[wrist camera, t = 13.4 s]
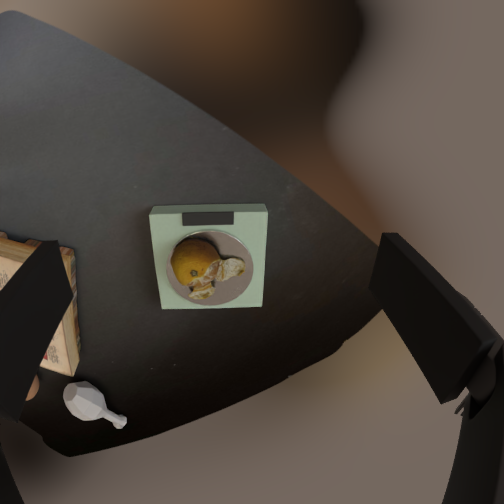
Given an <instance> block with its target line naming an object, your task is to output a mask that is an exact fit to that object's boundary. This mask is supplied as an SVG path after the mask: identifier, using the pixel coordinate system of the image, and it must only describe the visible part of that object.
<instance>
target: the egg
mask: <svg viewBox="0 0 504 504" xmlns="http://www.w3.org/2000/svg"><path fill="white" fill-rule="evenodd" d="M38 389H39V379H38V376H37V374H36V376H35V378H34V381H33V383H32V385H31V388H30V390H29V393H28V396H27V398H26V400H30V399H31V398H33V397H34V396H35V395H36V393H37V391H38Z"/></svg>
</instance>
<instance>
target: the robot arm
mask: <svg viewBox="0 0 504 504" xmlns="http://www.w3.org/2000/svg"><path fill="white" fill-rule="evenodd" d="M369 290H370V291H371V293H372V294H373V295H374V297H375V298H376V300H377V301H378V303H379V304H380V306H381V307H382V309H383V310H384V312H385V313H386V315H387V316H388V318H389V319H390V321H391V323H392V324H393V326H394V327H395V329H396V330H397V332H398V333H399V335H400V337H401V338H402V340H403V341H404V343H405V344H406V346H407V347H408V349H409V351H410V352H411V354H412V356H413V357H414V359H415V361H416V362H417V364H418V366H419V367H420V369H421V371H422V372H423V374H424V376H425V377H426V379H427V381H428V382H429V384H430V386H431V388H432V389H433V391H434V393H435V395H436V396H437V398H438V400H439V402H440V404H443V403H446V402H449V401H451V400H454V399H456V398H457V397H458V396H459V395H460V393H461V392H462V391H463V390H464V388H465V387H467V389H468V390H469V393H468V395H467V396H466V397H465V399H464V400H463V401H462V402H461V404H460V405H459V406H458V407H457V409H456V411H455V414H457V413H458V412H459V411H460V410H461V409H462V408H463V407H464V411H463V412H462V414H461V416H463V418H462V425H461V430H460V436H459V441H458V446H457V450H456V455H455V459H454V463H453V467H452V471H451V475H450V478H449V482H448V486H447V489H446V492H445V495H444V499H443V502H442V504H504V340H503V339H502V338H501V336H500V335H499V334H498V333H497V332H496V331H495V329H494V328H493V327H492V326H491V324H490V323H489V322H488V321H487V320H486V319H485V318H484V316H483V315H481V313H480V312H479V311H478V310H477V309H476V308H474V305H473V304H472V303H471V302H470V301H469V300H468V299H467V298H466V297H465V296H463V295H462V294H461V293H459V292H458V291H456V290H455V289H454V288H453V287H452V286H451V285H450V284H449V283H448V282H447V281H446V280H445V279H444V278H443V277H442V276H441V274H440V273H439V272H437V270H436V269H435V268H434V267H433V266H431V264H430V263H428V262H427V260H425V259H424V258H423V257H422V256H421V255H420V254H419V253H418V252H417V251H416V250H415V249H414V248H413V247H412V246H411V245H410V244H409V243H407V242H406V240H404V239H403V238H402V237H401V236H400V235H399V234H398V233H382V236H381V241H380V245H379V249H378V253H377V257H376V261H375V265H374V269H373V273H372V277H371V280H370V284H369ZM73 298H74V295H73V292H72V289H71V286H70V283H69V279H68V276H67V273H66V269H65V266H64V262H63V259H62V255H61V251H60V248H59V244H58V240H55V241H43V242H42V243H41V244H40V245H39V246H38V247H37V248H36V249H35V250H34V252H33V253H32V254H31V255H30V256H29V257H28V258H27V259H26V261H25V262H24V263H23V264H22V265H21V266H20V268H19V269H18V270H17V271H16V272H15V274H14V275H13V276H12V277H11V278H10V280H9V281H8V282H7V283H6V285H5V286H4V287H3V288H2V290H1V291H0V417H1V418H4V419H7V420H10V421H13V422H16V423H18V420H19V417H20V414H21V411H22V409H23V406H24V403H25V401H26V398H27V396H28V393H29V390H30V388H31V385H32V383H33V381H34V378H35V376H36V373H37V371H38V369H39V367H40V364H41V362H42V360H43V358H44V355H45V353H46V351H47V349H48V347H49V345H50V343H51V340H52V338H53V336H54V334H55V332H56V330H57V328H58V326H59V324H60V322H61V320H62V318H63V316H64V314H65V313H66V311H67V309H68V307H69V305H70V303H71V301H72V300H73ZM0 504H24V502H23V500H22V497H21V495H20V494H19V491H18V489H17V486H16V484H15V481H14V479H13V477H12V474H11V472H10V469H9V466H8V464H7V461H6V458H5V455H4V452H3V449H2V447H1V443H0Z"/></svg>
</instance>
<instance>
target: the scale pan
mask: <svg viewBox="0 0 504 504" xmlns="http://www.w3.org/2000/svg"><path fill="white" fill-rule="evenodd" d="M187 239H201V240H203V241H206V242H208V243H209V244H210V245H212V246H214V248H215V249H216V251H217V253H218V254H219V257H220V260H227V259H230V258H237V259H240V260H242V261H243V262H244V263H245V272H244V273H242V275H241V276H232V277H230V278H229V279H228V280H224V281H217V279H216V278H214V279H213V280H212V281H211V286H212V287H213V288H216V289H215V291H214V294H213V295H212V296H209V297H208V298H206V299H193V298H190V297H189V296H188V294H190V293H191V292H193V288H194V287H193V286H189V287H187V286H184V285H182V284H181V283H179V281H178V280H177V278H176V276H175V274H174V272H173V269H172V266H171V264H170V259H171V256H172V254H173V252H174V251H175V248H176V247H178V246H179V245H180V244H181V243H182V242H183V241H185V240H187ZM253 270H254V267H253V260H252V256H251V254H250V252H249V250H248V248H247V247H246V245H245V244H244V243H243V242H242V241H241V240H240V239H238V238H237V237H236V236H234V235H232V234H230V233H228V232H225V231H222V230H216V229H202V230H197V231H194V232H191V233H189V234H187V235H185V236H184V237H182V238H181V239H179V240H178V241H177V242H176V243H175V245H174V246H173V247H172V249H171V250H170V253H169V255H168V259H167V263H166V272H167V277H168V280H169V282H170V284H171V286H172V287H173V289H174V290H175V291H176V292H177V293H178V294H179V295H180V296H182V297H183V298H185V299H186V300H188V301H190V302H193V303H196V304H200V305H208V306H213V305H220V304H224V303H227V302H230V301H232V300H234V299H236V298H237V297H238V296H240V295H241V294H242V293H243V292H244V291H245V290H246V289H247V287H248V286H249V284H250V282H251V280H252V276H253Z"/></svg>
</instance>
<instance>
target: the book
mask: <svg viewBox="0 0 504 504" xmlns="http://www.w3.org/2000/svg"><path fill="white" fill-rule="evenodd" d="M41 243H42V242H41V241H37V240H31V239H29V240H27V241H26V242H25V243H19V242H16V241H12V240H8V238H7V235H6V233H4V232H1V231H0V291H1V290H2V288H3V287H4V286H5V285H6V283H7V282H8V281H9V280H10V278H11V277H12V276H13V275H14V274H15V272H16V271H17V270H18V269H19V268H20V266H21V265H22V264H23V263H24V262H25V261H26V259H27V258H28V257H29V256H30V255H31V254H32V253H33V252H34V250H35V249H36V248H37V247H38V246H39V245H40V244H41ZM59 248H60V251H61V255H62V259H63V262H64V266H65V269H66V273H67V276H68V279H69V283H70V286H71V289H72V292H73V295H74V298H73V300H72V301H71V303H70V305H69V307H68V309H67V311H66V313H65V314H64V316H63V318H62V320H61V322H60V324H59V326H58V328H57V330H56V332H55V334H54V336H53V338H52V340H51V343H50V345H49V347H48V349H47V351H46V353H45V355H44V358H43V360H42V362H41V364H40V366H41V367H44V368H47V369H50V370H53V371H56V372H59V373H62V374H65V375H68V376H72V377H73V376H74V373H75V370H76V368H77V365H78V362H79V352H80V349H81V344H80V337H79V334H80V330H79V324H78V316H77V315H78V314H77V302H76V300H77V290H76V278H75V271H76V265H75V259H76V258H75V256H74V250H72V249H70V248H66V247H59Z"/></svg>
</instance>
